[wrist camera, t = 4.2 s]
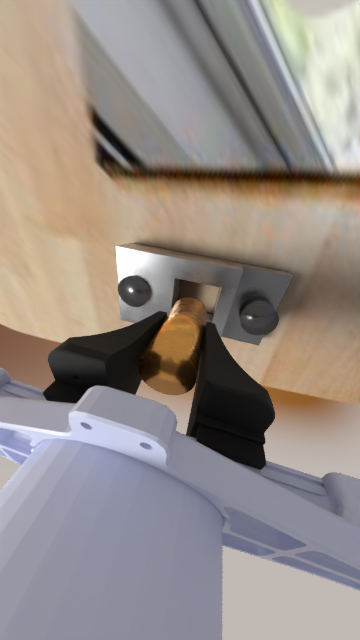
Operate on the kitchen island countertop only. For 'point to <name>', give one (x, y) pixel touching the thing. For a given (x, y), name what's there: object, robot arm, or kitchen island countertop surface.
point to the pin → (175, 349)
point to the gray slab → (233, 279)
